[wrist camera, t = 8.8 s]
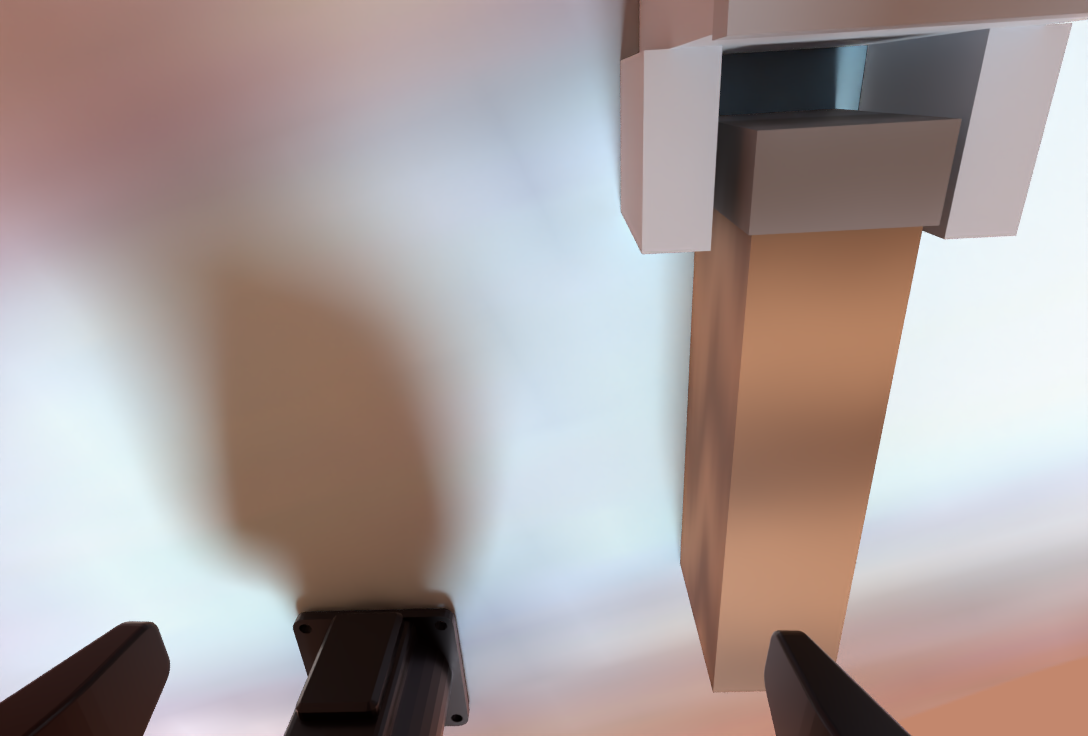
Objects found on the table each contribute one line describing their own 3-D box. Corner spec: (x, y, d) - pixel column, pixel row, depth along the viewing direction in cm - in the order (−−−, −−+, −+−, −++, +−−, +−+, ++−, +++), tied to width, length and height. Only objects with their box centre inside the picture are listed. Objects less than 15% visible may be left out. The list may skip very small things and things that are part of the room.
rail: (776, 561, 23) (839, 698, 18) (676, 564, 24) (710, 701, 18) (835, 109, 17) (962, 118, 12) (695, 117, 17) (757, 130, 12)
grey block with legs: (898, 197, 18) (1243, 308, 9) (620, 212, 18) (681, 333, 9) (952, -105, 15) (1555, -397, 6) (619, -81, 15) (709, -321, 6)
